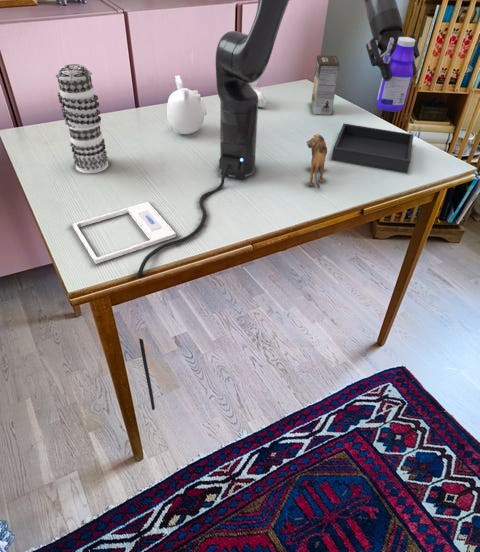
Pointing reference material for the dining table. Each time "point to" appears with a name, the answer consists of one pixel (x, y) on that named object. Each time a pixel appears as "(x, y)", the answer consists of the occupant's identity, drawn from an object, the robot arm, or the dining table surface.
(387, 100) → the bottle
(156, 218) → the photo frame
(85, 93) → the decorative candle
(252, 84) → the bust
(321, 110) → the coffee box
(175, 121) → the piggy bank
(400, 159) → the shallow square tray
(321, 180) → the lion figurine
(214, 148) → the dining table surface
